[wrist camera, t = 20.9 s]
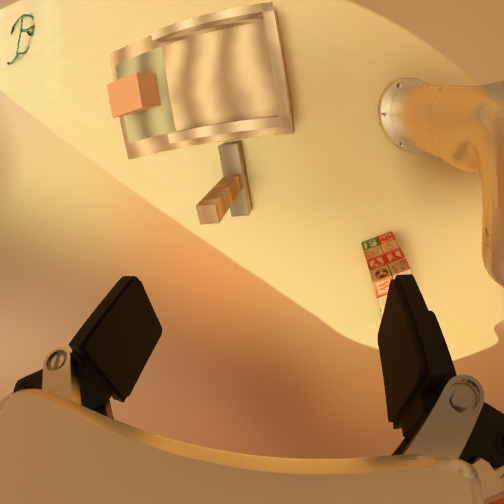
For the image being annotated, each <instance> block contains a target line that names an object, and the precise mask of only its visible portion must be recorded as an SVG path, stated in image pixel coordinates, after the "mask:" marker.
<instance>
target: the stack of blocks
mask: <svg viewBox="0 0 504 504" xmlns="http://www.w3.org/2000/svg"><path fill="white" fill-rule="evenodd" d="M362 247H363V251H364V254H365V257H366V260H367V264H368V268H369V271H370V274H371V278H372V282H373V286H374V289H375V292H376V296H377V299H378V303H379V306H380V310H381V314H382V316H383V312H384V308H385V303H386V299H387V294H388V289H389V284H390V280H391V279H395V277H396V275H404V274H411V269H410V267H409V265H408V263H407V261H406V259H405V257H404V254H403V252H402V251H401V249H400V247H399V246H398V244H397V242H396V239H395V237H394V236H393V234H392V232H389V233H386V234H383V235H380V236H378V237H376V238H373V239H370V240H367V241H365V242H362Z"/></svg>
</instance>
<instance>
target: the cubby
mask: <svg viewBox="0 0 504 504" xmlns="http://www.w3.org/2000/svg"><path fill="white" fill-rule="evenodd" d="M151 34H152V35H151V36H149V37H146V38H144V39H141V40H139V41H137V42H134V43H132V44H130V45H128V46H126V47H123V48H121V49H119V50H117V51H115V52H113V53H111V54H110V60H111V68H112V75H113V82H115V81H117V80H119V79H122V78H124V77H126V76H129V75H131V74H134V73H136V72H140V73H155V74H156V78H157V84H158V90H159V96H160V102H161V105H160V106H156V107H153V108H150V109H147V110H143V111H140V112H137V113H134V114H130V115H125V116H120V122H121V127H122V132H123V136H124V141H125V145H126V150H127V154H128V158H129V159H132V158H136V157H140V156H144V155H148V154H152V153H157V152H161V151H166V150H171V149H176V148H181V147H186V146H192V145H197V144H203V143H209V142H216V141H223V140H230V139H237V138H245V137H254V136H264V135H275V134H288V133H294V130H293V121H292V112H291V104H290V96H289V89H288V82H287V75H286V68H285V61H284V55H283V49H282V43H281V37H280V31H279V25H278V20H277V15H276V10H275V6H274V5H273V4H272V2H270V3H262V4H255V5H249V6H243V7H237V8H232V9H227V10H223V11H218V12H214V13H210V14H206V15H202V16H199V17H195V18H192V19H189V20H185V21H182V22H179V23H176V24H173V25H170V26H167V27H164V28H162V29H159V30H156V31H154V32H151Z"/></svg>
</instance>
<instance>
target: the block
mask: <svg viewBox="0 0 504 504" xmlns="http://www.w3.org/2000/svg"><path fill="white" fill-rule="evenodd" d="M107 88H108V94H109V100H110V106H111V111H112V117H113V118H115V117H120V116H125V115H130V114H134V113H137V112H140V111H143V110H147V109H150V108H153V107H156V106H160V105H161V102H160V96H159V90H158V84H157V78H156V74H155V73H140V72H136V73H134V74H131V75H129V76H126V77H124V78H122V79H119V80H117V81H115V82H112V83H110V84H108V85H107Z"/></svg>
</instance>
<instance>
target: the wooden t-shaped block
mask: <svg viewBox="0 0 504 504" xmlns="http://www.w3.org/2000/svg"><path fill="white" fill-rule="evenodd" d="M218 149H219V154H220V159H221V164H222V170H223V175H224V177H223V178H222V179H221V180H220V181H219V182H218V183H217V184H216V185H215V186H214V187H213V188H212V190H211V191H210V192H209V193H208V194H207V195H206V196H205V197H204V198H203V199H202V200H201V201H200V202H199V203H198V204H197V205H196V209H197V213H198V217H199V221H200V224H213V223H220V221H221V220H222V218H223V217H224V215H225V214H226V212H227V210H228V209H229V207H230V211H231V216H232V217H233V216H247V215H249V214H250V212H251V210H252V204H251V198H250V191H249V185H248V179H247V173H246V167H245V161H244V155H243V149H242V143H241V141H237V142H230V143H224V144H222V145H220V146H218Z"/></svg>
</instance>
